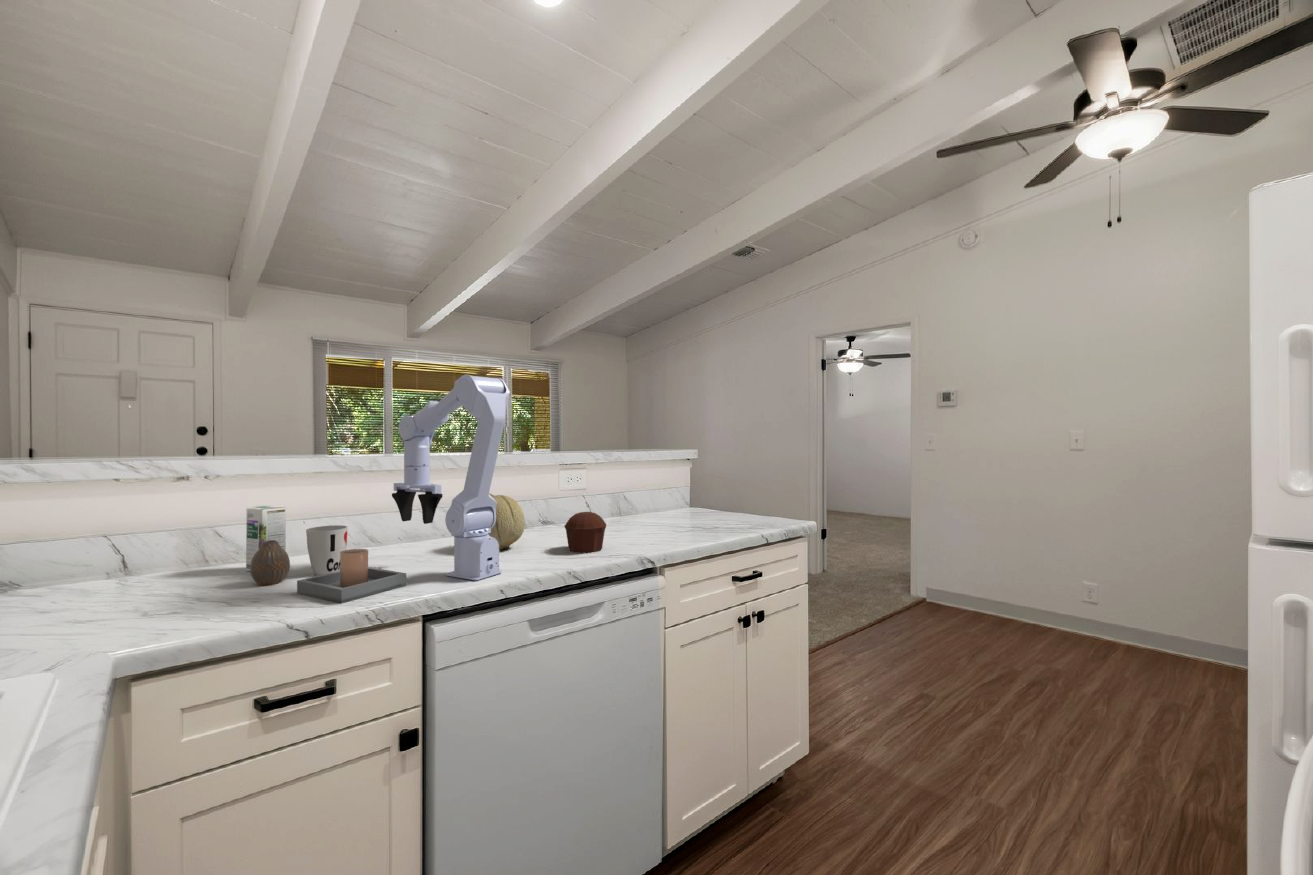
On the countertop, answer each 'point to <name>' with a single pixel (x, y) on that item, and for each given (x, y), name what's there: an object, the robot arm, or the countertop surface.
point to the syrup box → (264, 528)
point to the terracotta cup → (353, 567)
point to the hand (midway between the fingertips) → (417, 521)
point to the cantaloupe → (507, 521)
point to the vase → (270, 564)
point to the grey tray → (331, 589)
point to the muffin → (585, 532)
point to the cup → (326, 547)
